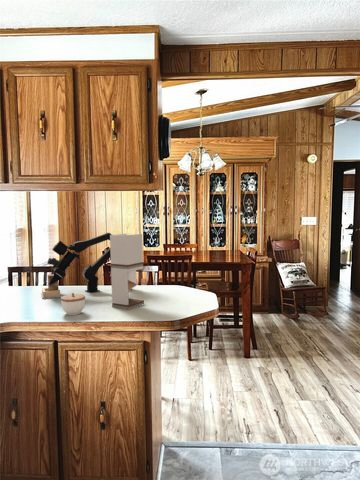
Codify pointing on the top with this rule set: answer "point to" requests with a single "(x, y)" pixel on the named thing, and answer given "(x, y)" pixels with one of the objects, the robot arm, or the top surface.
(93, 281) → the robot arm
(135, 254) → the coffee grinder
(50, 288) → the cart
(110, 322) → the top surface
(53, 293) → the dock
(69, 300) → the lidded jar
